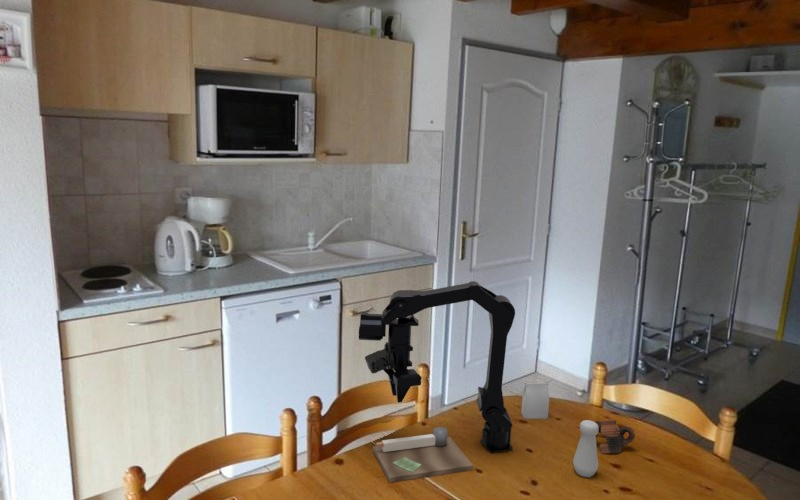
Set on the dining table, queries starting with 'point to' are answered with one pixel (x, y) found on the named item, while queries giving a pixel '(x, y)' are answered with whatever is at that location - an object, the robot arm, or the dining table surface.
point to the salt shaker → (587, 450)
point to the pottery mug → (614, 436)
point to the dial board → (422, 461)
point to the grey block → (535, 401)
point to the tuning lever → (415, 441)
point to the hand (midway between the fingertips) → (397, 398)
